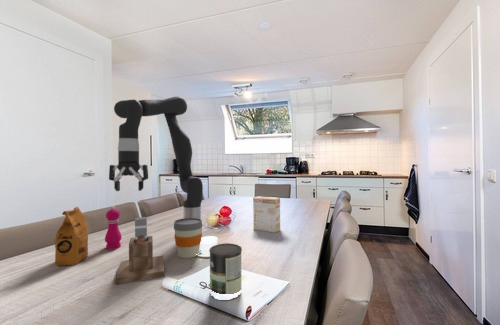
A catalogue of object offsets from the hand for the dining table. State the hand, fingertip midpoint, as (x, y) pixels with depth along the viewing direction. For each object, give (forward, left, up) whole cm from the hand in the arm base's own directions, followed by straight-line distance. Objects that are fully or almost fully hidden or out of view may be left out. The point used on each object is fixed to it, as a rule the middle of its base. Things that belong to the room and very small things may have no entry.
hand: (129, 190), depth 103 cm
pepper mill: (+9, -27, -31) cm, 42 cm away
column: (-5, +7, -28) cm, 29 cm away
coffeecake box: (-73, -27, -31) cm, 83 cm away
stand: (-5, +7, -30) cm, 31 cm away
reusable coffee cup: (-24, -4, -31) cm, 39 cm away
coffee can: (-31, +34, -31) cm, 55 cm away
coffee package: (+23, -15, -31) cm, 41 cm away
